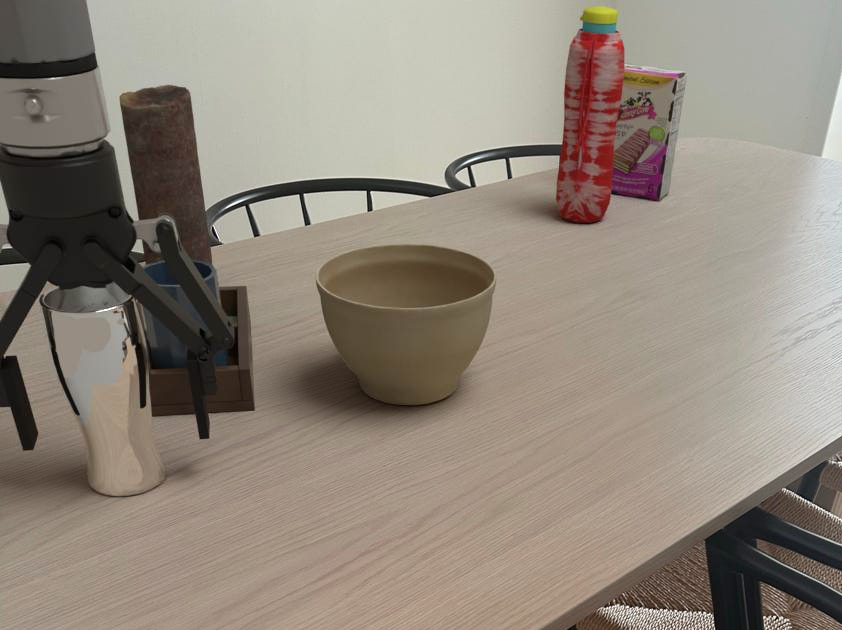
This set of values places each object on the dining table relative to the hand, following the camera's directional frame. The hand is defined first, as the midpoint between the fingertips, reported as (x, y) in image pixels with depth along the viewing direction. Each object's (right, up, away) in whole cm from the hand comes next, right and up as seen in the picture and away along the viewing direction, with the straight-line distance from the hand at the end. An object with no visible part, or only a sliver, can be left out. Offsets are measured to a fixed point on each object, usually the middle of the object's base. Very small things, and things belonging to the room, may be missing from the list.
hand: (119, 437), depth 78 cm
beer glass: (0, -3, +2) cm, 4 cm away
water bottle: (+43, +44, +61) cm, 87 cm away
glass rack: (+1, +11, +19) cm, 22 cm away
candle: (-5, +24, +35) cm, 43 cm away
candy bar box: (+51, +51, +70) cm, 101 cm away
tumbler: (+2, +8, +14) cm, 17 cm away
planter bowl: (+22, +8, +17) cm, 29 cm away
